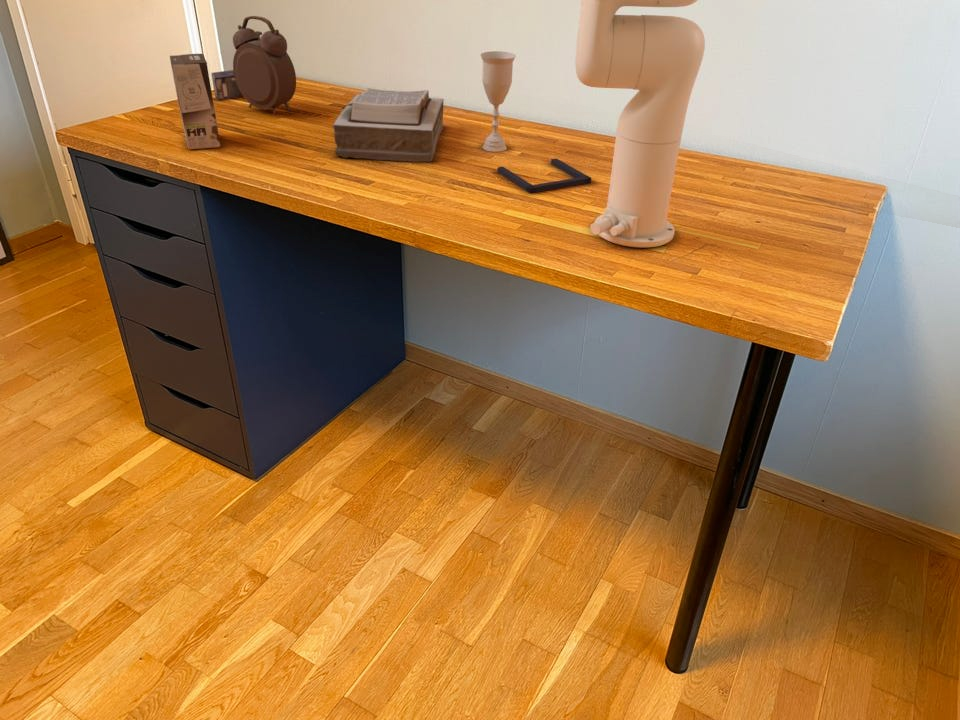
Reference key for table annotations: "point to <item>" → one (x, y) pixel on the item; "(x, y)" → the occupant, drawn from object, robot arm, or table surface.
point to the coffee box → (195, 100)
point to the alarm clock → (263, 66)
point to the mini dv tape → (225, 85)
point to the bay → (578, 180)
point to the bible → (389, 126)
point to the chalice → (496, 90)
